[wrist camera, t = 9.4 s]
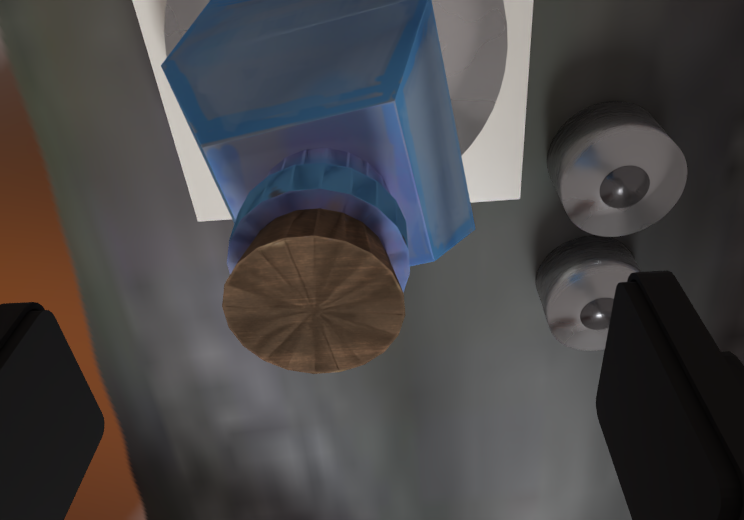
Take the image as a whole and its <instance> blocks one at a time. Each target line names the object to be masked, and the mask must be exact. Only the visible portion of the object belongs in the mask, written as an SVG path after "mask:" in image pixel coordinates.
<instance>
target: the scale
mask: <svg viewBox="0 0 744 520" xmlns="http://www.w3.org/2000/svg"><path fill="white" fill-rule="evenodd" d="M132 1H133V4H134V8H135V11H136V14H137V18H138V21H139V24H140V28H141V31H142V35H143V38H144V41H145V45H146V48H147V51H148V55H149V58H150V61H151V65H152V68H153V72H154V75H155V78H156V82H157V85H158V88H159V92H160V95H161V98H162V102H163V105H164V109H165V112H166V115H167V119H168V122H169V125H170V129H171V132H172V135H173V139H174V142H175V146H176V149H177V152H178V156H179V159H180V162H181V166H182V169H183V172H184V176H185V179H186V183H187V186H188V189H189V193H190V196H191V199H192V203H193V206H194V209H195V213H196V216H197V220H198V222H199V221H213V220H228V219H232V217H231V215H230V213H229V211H228V209H227V207H226V205H225V202H224V200H223V198H222V196H221V194H220V192H219V190H218V187H217V185H216V183H215V181H214V179H213V177H212V175H211V172H210V170H209V168H208V166H207V164H206V162H205V160H204V157H203V155H202V153H201V151H200V149H199V147H198V144H197V142H196V140H195V138H194V136H193V134H192V132H191V129H190V127H189V125H188V123H187V121H186V119H185V117H184V114H183V112H182V110H181V108H180V106H179V104H178V102H177V99H176V97H175V95H174V93H173V91H172V89H171V87H170V84H169V82H168V80H167V78H166V76H165V74H164V72H163V69H162V67H161V65H162V63H163V62H164V61H165V59H166V58H167V57H166V49H165V37H164V23H165V7H166V2H167V0H132ZM503 2H504V8H505V15H506V21H507V42H508V49H507V58H506V67H505V73H504V77H503V81H502V85H501V89H500V93H499V95H498V98H497V100H496V103H495V105H494V108H493V111H492V113H491V114H490V116H489V118H488V120H487V122H486V124H485V125H484V127H483V129H482V131H481V132H480V133H479V135H478V136H477V138H476V139H475V140H474V142H473V143H472V145H471V146H470V147H469V148H468V149H467V150H466V151H465V152H464V154H463V155H462V162H463V167H464V172H465V177H466V182H467V188H468V193H469V198H470V202H485V201H499V200H513V199H520V192H521V177H522V162H523V148H524V133H525V118H526V103H527V89H528V74H529V59H530V44H531V30H532V15H533V0H503Z"/></svg>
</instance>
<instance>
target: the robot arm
mask: <svg viewBox="0 0 744 520" xmlns="http://www.w3.org/2000/svg"><path fill="white" fill-rule="evenodd" d="M596 409H597V415H598V419H599V423H600V426H601V428H602V431H603V434H604V437H605V440H606V443H607V446H608V449H609V452H610V455H611V458H612V461H613V464H614V467H615V470H616V473H617V476H618V479H619V482H620V485H621V487H622V490H623V493H624V496H625V499H626V502H627V505H628V508H629V511H630V514H631V517H632V520H744V366H743V364H742V363H741V362H740V360H739V359H738V358H737V357H736V356H735V355H734V354H732V353H730V352H720V350H719V348H718V347H717V345H716V343H715V342H714V340H713V338H712V337H711V335H710V333H709V332H708V330H707V329H706V327H705V325H704V324H703V322H702V320H701V319H700V317H699V315H698V314H697V312H696V310H695V309H694V307H693V305H692V304H691V302H690V301H689V299H688V297H687V296H686V294H685V292H684V291H683V289H682V287H681V286H680V284H679V282H678V281H677V279H676V277H675V276H674V275H673V274H672V272H670V271H653V272H633V273H631V274H630V275H629V277H628V280H627V282H620V283H618V284H617V286H616V290H615V295H614V301H613V307H612V312H611V318H610V323H609V329H608V335H607V340H606V346H605V351H604V357H603V363H602V368H601V374H600V379H599V385H598V390H597V396H596ZM103 432H104V417H103V414H102V412H101V410H100V408H99V406H98V404H97V402H96V400H95V398H94V396H93V394H92V392H91V390H90V388H89V386H88V384H87V382H86V380H85V378H84V376H83V373H82V371H81V370H80V367H79V365H78V363H77V361H76V359H75V357H74V355H73V353H72V351H71V349H70V347H69V345H68V343H67V341H66V339H65V337H64V335H63V333H62V331H61V329H60V326H59V324H58V322H57V320H56V319H55V317H54V315H53V314H52V312H50V311H48V310H44V308H43V306H42V305H40V304H38V303H34V302H29V303H9V304H1V305H0V520H64V518H65V516H66V514H67V512H68V509H69V507H70V505H71V503H72V501H73V499H74V497H75V494H76V492H77V490H78V488H79V486H80V484H81V481H82V479H83V477H84V475H85V473H86V470H87V469H88V466H89V464H90V462H91V460H92V458H93V455H94V453H95V451H96V449H97V446H98V445H99V443H100V440H101V438H102V435H103Z"/></svg>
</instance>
